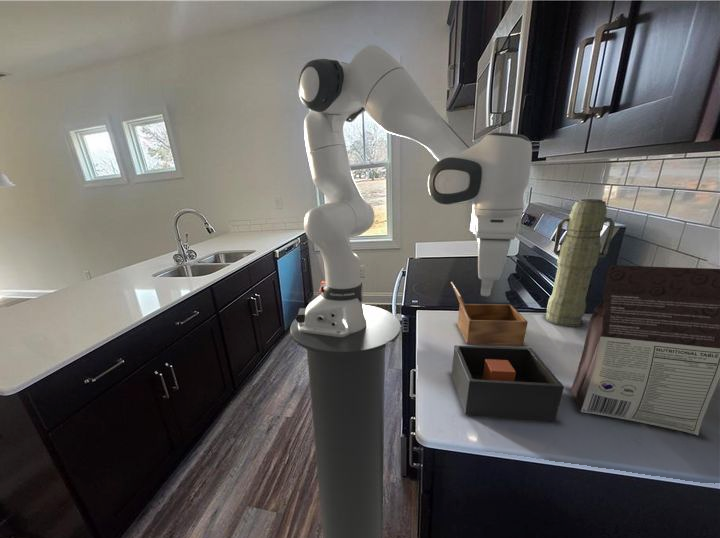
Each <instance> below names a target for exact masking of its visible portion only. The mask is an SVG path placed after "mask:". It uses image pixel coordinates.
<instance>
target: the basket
mask: <svg viewBox="0 0 720 538" xmlns="http://www.w3.org/2000/svg"><path fill="white" fill-rule="evenodd" d="M485 359H493V360H508V361H509V363H510V364H511V366H512V367H513V368H514V370H515V371H516V375H515V380H514V381H497V380H482V377H483V370H484V363H485ZM451 365H452V366H451V377H452V380H453V383H454V386H455V389H456V392H457V394H458V399H459V401H460V403H461V407H462V411H463V412H464V415H466V416H477V417H478V416H479V417H491V418H505V419H518V420H531V421H545V422H556V419H557V416H558V415H557V414H558V412H559V408H560V403H561V400H562V396H563V391H564V389H565V386H564V385H563V383H562V382H561V381H560V380H559V379H558V377H556V375H555V374H554V373H553V372H552V371H551V369H550V368H549V367H548V366H547V365H546V364H545V362H544V361H543V360H542V359H541V358H540V356H538V354H537V353H536V352H535V351H534V349H533V348H532V347H517V346H515V347H512V346H489V345H487V346H485V345H483V346H482V345H457V344H456V345H455V344H454V346H453V356H452V364H451Z"/></svg>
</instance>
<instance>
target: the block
mask: <svg viewBox="0 0 720 538" xmlns="http://www.w3.org/2000/svg"><path fill="white" fill-rule="evenodd" d="M515 375H516V371H515V370H514V368H513V367H512V366H511V364H510V363H509V361H508V360H493V359H485V363H484V370H483V377H482V380H497V381H514V380H515Z"/></svg>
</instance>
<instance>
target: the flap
mask: <svg viewBox="0 0 720 538" xmlns="http://www.w3.org/2000/svg"><path fill="white" fill-rule="evenodd" d="M450 284H451V286H452V289H453V291H454V293H455V296H456V298H457V300H458V303H459V305H460V304H461V306H462V308H463V309H464V311H465V313H466V314H467V316H468V318H470V316H469V313H468V311H467V309H466V306H465V304H466V303H465V302H464V299H463V297H462V295H461V294H460V292H459V290H458V288H456V287H457V286H455V284H454V282H453V281H450Z"/></svg>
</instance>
